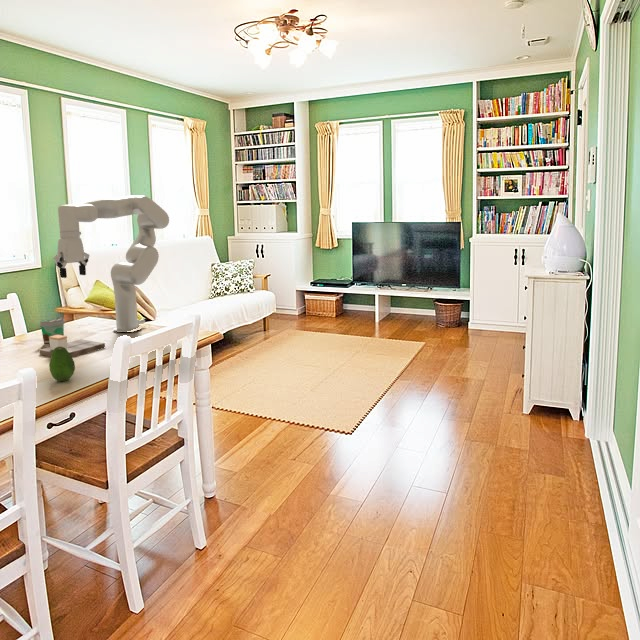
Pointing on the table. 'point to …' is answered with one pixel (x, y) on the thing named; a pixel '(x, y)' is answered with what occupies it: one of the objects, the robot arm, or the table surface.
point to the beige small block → (58, 341)
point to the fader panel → (77, 347)
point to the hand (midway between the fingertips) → (73, 276)
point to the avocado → (61, 364)
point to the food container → (52, 328)
